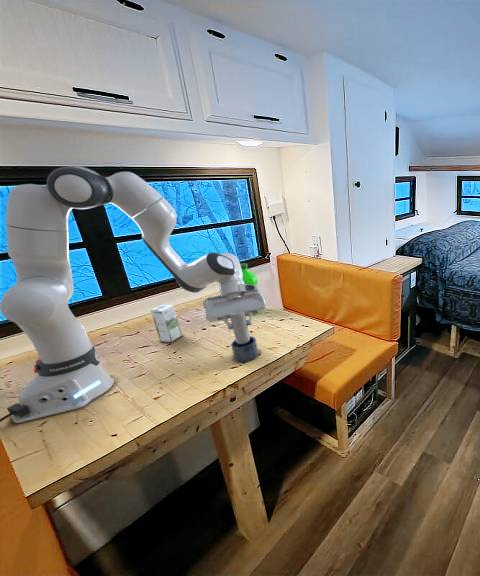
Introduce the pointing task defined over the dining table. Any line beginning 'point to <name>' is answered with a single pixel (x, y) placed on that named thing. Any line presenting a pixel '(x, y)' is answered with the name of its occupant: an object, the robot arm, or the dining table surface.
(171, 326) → the syrup box
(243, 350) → the can holder
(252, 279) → the plastic bottle
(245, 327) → the beverage can
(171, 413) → the dining table surface
